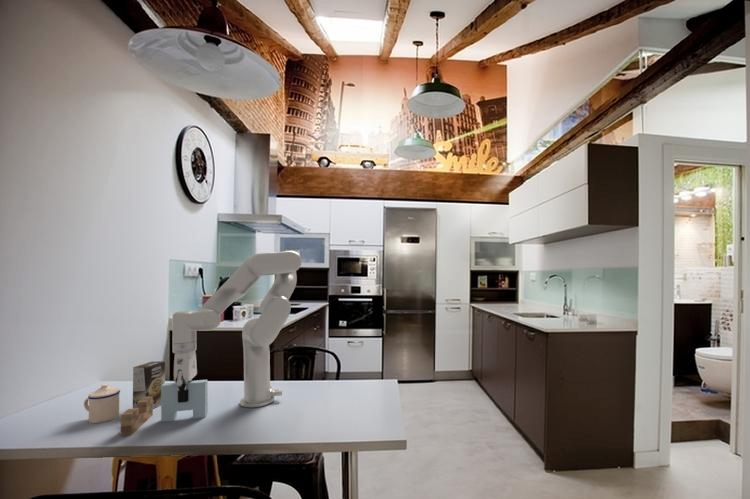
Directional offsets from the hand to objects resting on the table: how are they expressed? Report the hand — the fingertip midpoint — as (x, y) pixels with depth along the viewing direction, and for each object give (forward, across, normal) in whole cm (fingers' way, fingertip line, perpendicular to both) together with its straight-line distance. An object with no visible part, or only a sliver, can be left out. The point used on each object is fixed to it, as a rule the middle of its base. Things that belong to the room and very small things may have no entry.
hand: (184, 399), depth 125 cm
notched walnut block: (+6, -2, +14) cm, 15 cm away
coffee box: (+7, +15, +17) cm, 24 cm away
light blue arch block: (+6, 0, 0) cm, 6 cm away
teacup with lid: (+6, +8, +30) cm, 32 cm away
